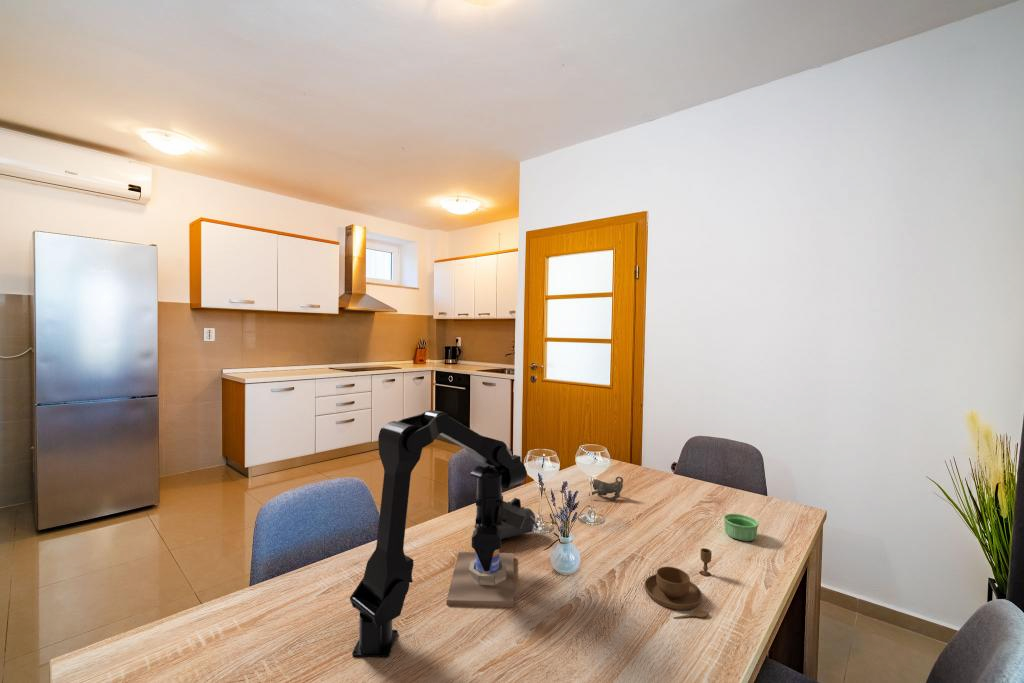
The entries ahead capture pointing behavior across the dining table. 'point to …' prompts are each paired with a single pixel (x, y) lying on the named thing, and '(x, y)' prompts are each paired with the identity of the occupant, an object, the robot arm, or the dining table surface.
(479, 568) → the pill bottle
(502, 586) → the socket board
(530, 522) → the glasses case
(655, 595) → the place setting
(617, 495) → the dog figurine
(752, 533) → the ramekin
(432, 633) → the dining table surface
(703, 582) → the dining table surface
